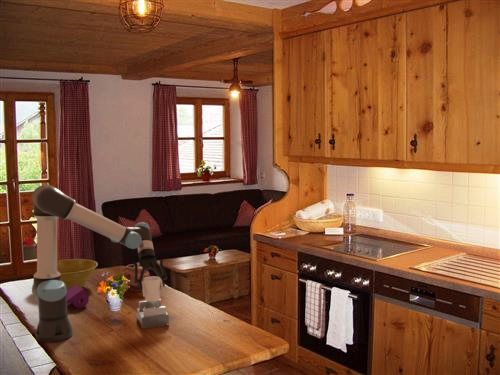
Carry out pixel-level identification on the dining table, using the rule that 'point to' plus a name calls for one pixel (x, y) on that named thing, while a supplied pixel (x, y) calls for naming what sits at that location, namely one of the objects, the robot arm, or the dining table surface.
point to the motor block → (152, 314)
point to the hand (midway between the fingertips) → (153, 294)
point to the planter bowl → (75, 271)
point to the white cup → (152, 288)
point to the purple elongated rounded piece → (77, 297)
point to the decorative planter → (130, 275)
